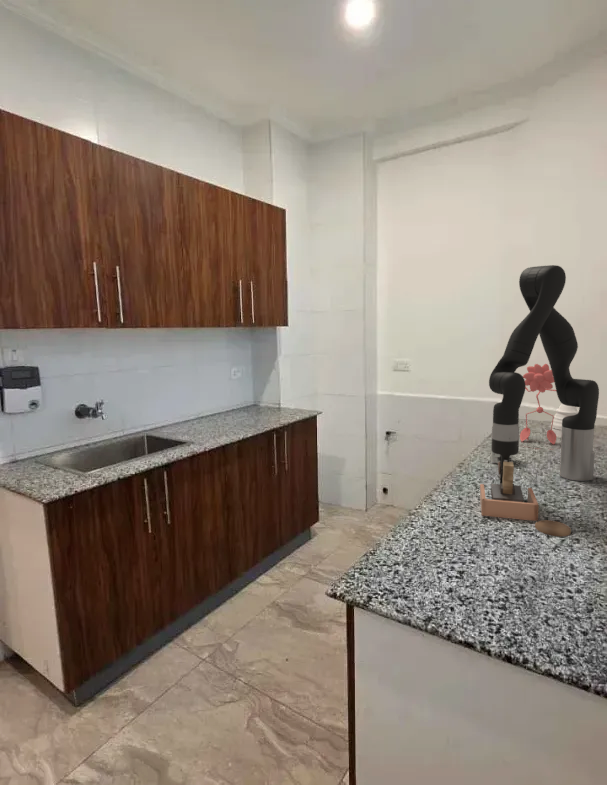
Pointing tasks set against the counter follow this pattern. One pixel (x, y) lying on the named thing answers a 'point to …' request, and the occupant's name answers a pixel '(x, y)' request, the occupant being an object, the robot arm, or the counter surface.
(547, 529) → the lid
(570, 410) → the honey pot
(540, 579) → the counter surface
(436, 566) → the counter surface
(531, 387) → the figurine
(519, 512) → the three-sided wooden frame
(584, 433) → the robot arm
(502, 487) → the mounted wooden block
